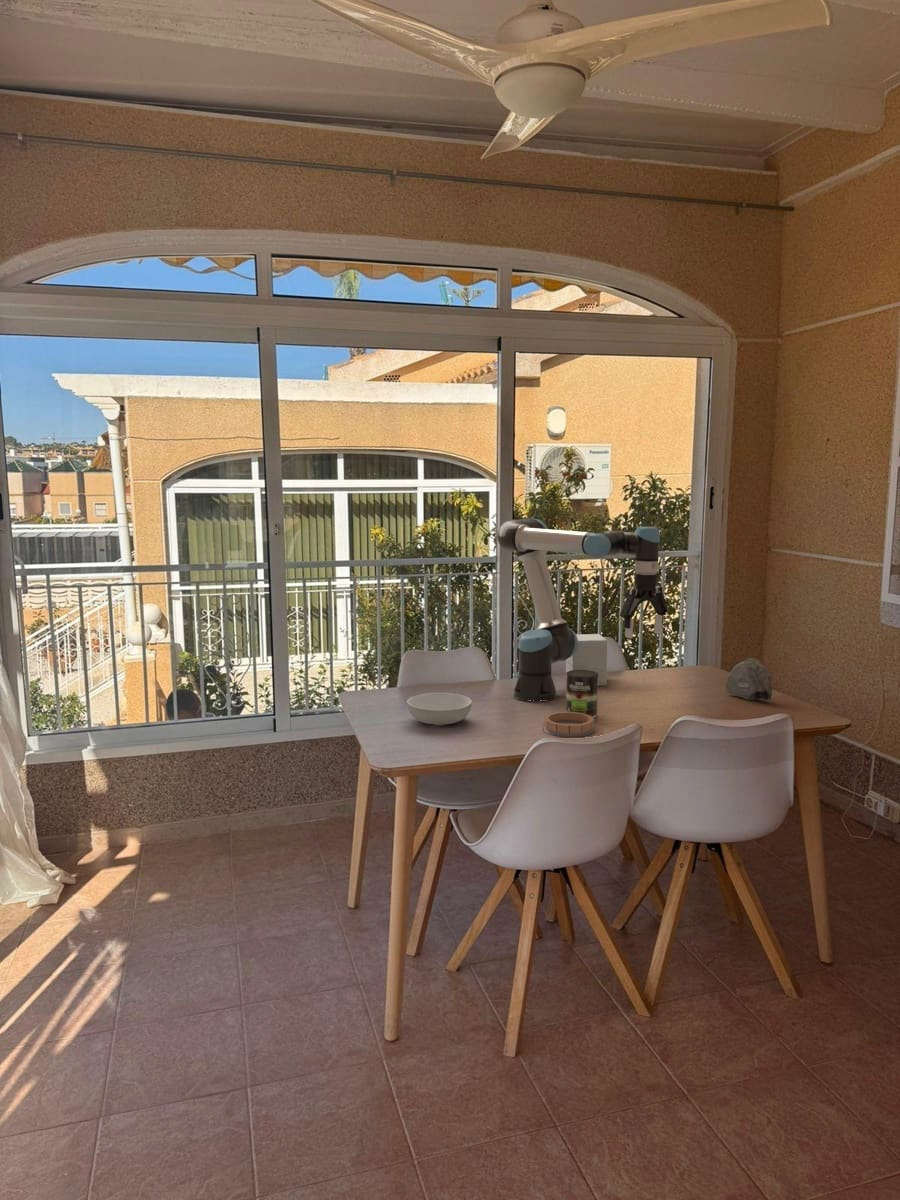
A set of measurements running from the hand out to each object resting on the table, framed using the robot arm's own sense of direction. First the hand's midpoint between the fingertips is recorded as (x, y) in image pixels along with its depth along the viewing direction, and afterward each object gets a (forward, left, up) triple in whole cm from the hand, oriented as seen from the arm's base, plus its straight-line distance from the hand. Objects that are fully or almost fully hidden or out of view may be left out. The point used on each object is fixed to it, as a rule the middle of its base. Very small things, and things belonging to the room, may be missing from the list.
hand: (643, 635), depth 275 cm
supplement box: (-26, +26, -25) cm, 44 cm away
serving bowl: (-58, -42, -25) cm, 75 cm away
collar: (-17, -36, -24) cm, 46 cm away
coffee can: (-17, -19, -25) cm, 35 cm away
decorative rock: (+33, +21, -25) cm, 46 cm away
